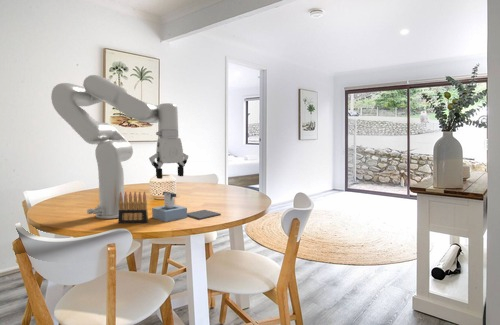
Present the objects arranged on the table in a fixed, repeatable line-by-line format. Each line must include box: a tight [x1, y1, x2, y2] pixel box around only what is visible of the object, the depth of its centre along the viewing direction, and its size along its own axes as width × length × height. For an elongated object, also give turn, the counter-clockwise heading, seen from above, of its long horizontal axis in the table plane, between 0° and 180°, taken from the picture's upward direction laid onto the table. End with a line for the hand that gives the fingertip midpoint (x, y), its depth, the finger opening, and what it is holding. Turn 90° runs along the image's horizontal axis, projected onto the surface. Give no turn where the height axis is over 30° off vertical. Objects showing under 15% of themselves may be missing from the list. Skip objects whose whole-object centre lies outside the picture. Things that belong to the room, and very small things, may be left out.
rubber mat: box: [187, 209, 222, 221], centre depth 133 cm, size 11×11×1 cm
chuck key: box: [162, 191, 177, 210], centre depth 129 cm, size 4×8×10 cm, turn 46°
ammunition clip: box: [117, 191, 149, 224], centre depth 121 cm, size 11×2×12 cm, turn 95°
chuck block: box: [151, 204, 188, 223], centre depth 129 cm, size 10×10×4 cm
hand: (170, 177), depth 128 cm, fingers open, 9 cm apart
